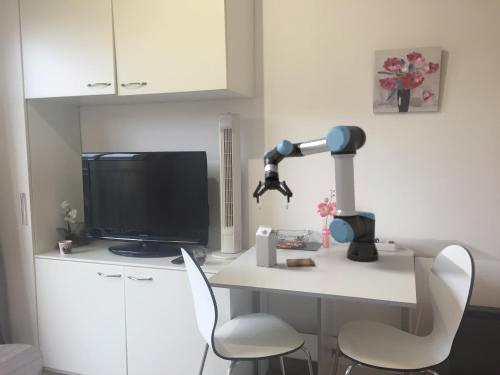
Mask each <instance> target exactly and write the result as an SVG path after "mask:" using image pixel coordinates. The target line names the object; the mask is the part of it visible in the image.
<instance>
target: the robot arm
mask: <svg viewBox="0 0 500 375" xmlns="http://www.w3.org/2000/svg"><path fill="white" fill-rule="evenodd" d="M366 141H367V135H366V132H365V131H364V128H362V127H360V126H357V125H344V124H343V125H335V126H334V127H333V126H332V127H331V129H329V130H328V132H327V133H326V135H325V136H324V137H321V138H315V139H310V140H307V141H301V142H297V143H296V142H295V143H292V142H291V141H290V140H288V139H283V140H282V141H280V142H279V143H278V144H277V145H276V146H275V147H274V148H273V149H268V150H266V151H265V152H264V154H263V166H264V167H263V168H264V181H262V180H259V181H258V185H257V186H256V188H255V190H254V192H252V195H253V196H252V198H253V199H255V198H256V204H258V210H261V209H262V204H261V201H262V200H261V197H262V196H263V195H264V194H265V193H266V192H267V191H268V190H269V191H272V190H273V191H278V192H280V194H282V195H283V196H284V197H285V198H284V200H285V209H286V210H288V208H289V203H290V202H291V200H290V198H293V192H292V190H291V189H290V188H289V186H288V185H287V183H286V180H283V181H280V175H279V164H280V163H281V162H282V161H284V159H285V158H302V157H305V156H311V155H315V154H321V153H328V152H330V156H331V157H332V158H333V159H334V161H333V162H334V178H335V179H334V183H335V206H336V210H335V211H334V212H333V215H332V216H333V220H331V221H330V223H329V226H328V231H329V234H330V236H331V238H333V240H334V241H335V242H337V243H339V244H348V243H349V245H348V248H347V251H346V258H347V259H349V260H351V261H354V262H365V263H366V262H368V263H370V262H374V261H377V260H379V252H378V248H377V245H376V215H375V213H373V212H371V211H363V210H361V211H360V210H356V196H355V193H356V192H355V170H354V169H355V165H354V158H355V157H356V156H357V154H358V152H357V151H358V150H360V149H361V148H363V147H364V146H365V145H366ZM262 187H263V188H262Z"/></svg>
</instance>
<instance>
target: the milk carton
mask: <svg viewBox="0 0 500 375" xmlns="http://www.w3.org/2000/svg"><path fill="white" fill-rule="evenodd" d="M277 254H278V253H277V232H276V231H275V230H274V228H273V225H264V224H259V228H258V229H257V231H256V233H255V261H256V262H255V264H256V266H259V267H265V268H271V267H272V266H275V265H276V264H277V263H278V260H277V259H278V258H277V257H278V256H277Z"/></svg>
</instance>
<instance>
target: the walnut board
mask: <svg viewBox="0 0 500 375" xmlns="http://www.w3.org/2000/svg"><path fill="white" fill-rule="evenodd" d="M285 262H286V263H287V264H286V265H287V266H288V268H302V267H303V268H304V267H307V268H308V267H315V263H314V261H313V260H312V257H311V258H310V257H309V258H286V261H285Z"/></svg>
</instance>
